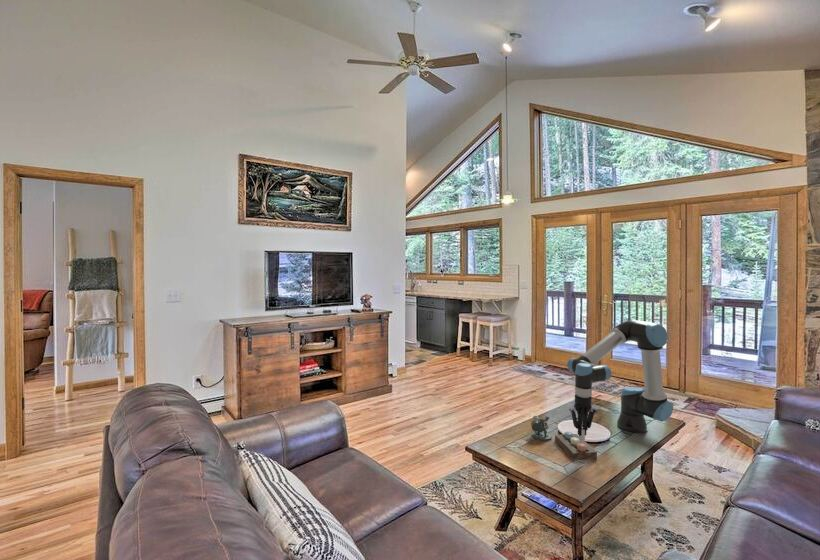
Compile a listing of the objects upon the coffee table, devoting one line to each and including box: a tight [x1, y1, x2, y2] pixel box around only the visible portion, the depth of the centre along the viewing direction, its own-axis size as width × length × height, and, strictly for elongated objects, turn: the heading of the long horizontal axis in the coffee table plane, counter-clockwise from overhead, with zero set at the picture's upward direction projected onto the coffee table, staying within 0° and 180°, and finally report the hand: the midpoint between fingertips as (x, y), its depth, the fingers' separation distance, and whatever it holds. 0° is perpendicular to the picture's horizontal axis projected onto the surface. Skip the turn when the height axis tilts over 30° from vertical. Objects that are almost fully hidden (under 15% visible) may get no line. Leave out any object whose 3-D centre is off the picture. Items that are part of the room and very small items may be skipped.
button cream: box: [570, 437, 580, 446], centre depth 206 cm, size 4×4×3 cm
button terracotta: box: [577, 443, 587, 452], centre depth 200 cm, size 4×4×3 cm
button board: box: [554, 433, 598, 461], centre depth 207 cm, size 12×20×4 cm, turn 5°
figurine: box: [530, 415, 553, 442], centre depth 221 cm, size 11×11×12 cm
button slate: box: [564, 431, 574, 440], centre depth 213 cm, size 4×4×3 cm
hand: (581, 441), depth 200 cm, fingers closed
